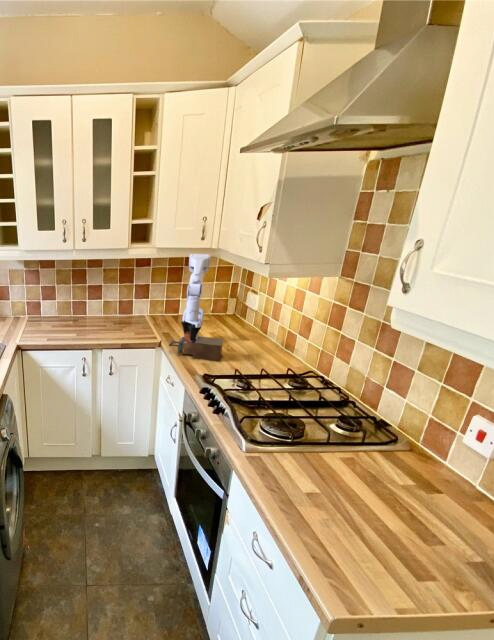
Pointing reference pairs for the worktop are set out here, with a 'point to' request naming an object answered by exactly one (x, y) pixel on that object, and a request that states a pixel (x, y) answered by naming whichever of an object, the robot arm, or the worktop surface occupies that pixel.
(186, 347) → the drawer
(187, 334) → the block
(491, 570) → the worktop surface
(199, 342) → the cabinet
